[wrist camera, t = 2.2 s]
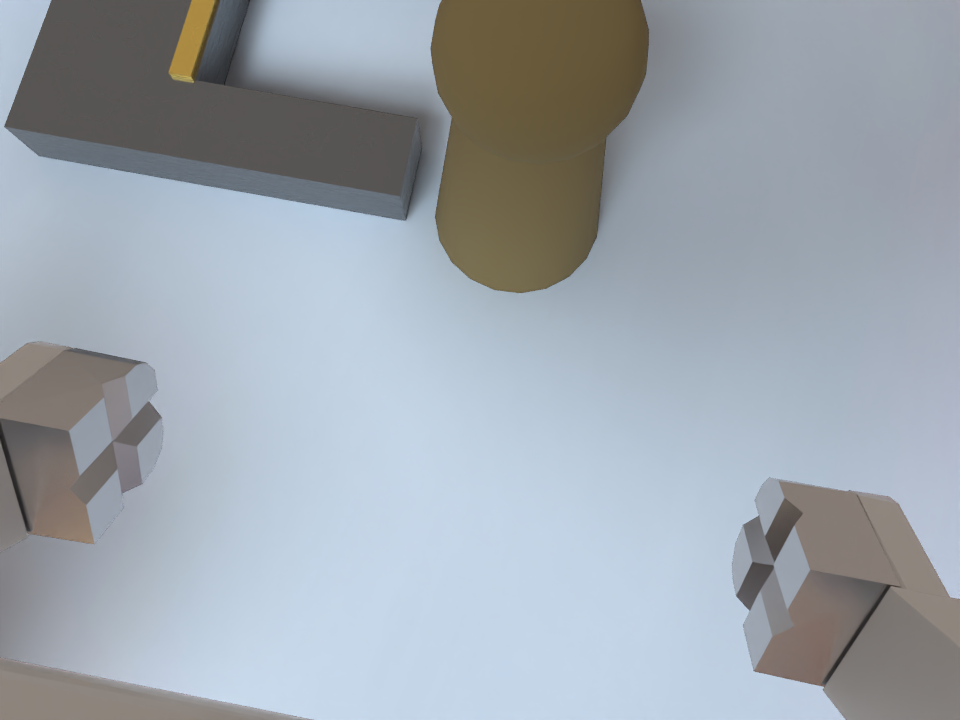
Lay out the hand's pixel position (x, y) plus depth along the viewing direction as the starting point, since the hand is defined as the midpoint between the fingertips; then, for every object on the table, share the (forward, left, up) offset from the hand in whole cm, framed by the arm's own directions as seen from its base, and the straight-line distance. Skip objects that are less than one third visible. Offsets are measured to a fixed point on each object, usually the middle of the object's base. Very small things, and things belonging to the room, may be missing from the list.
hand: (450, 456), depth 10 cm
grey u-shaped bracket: (+11, -16, -15) cm, 25 cm away
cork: (0, -10, -15) cm, 18 cm away
